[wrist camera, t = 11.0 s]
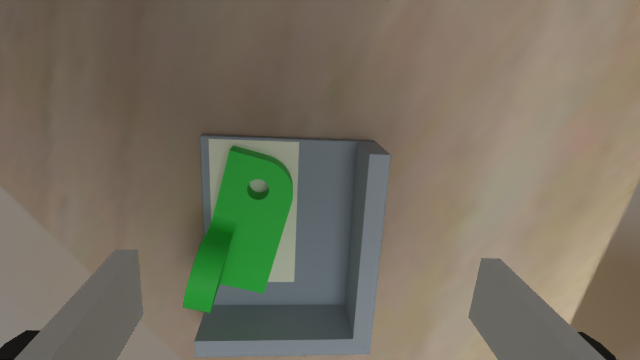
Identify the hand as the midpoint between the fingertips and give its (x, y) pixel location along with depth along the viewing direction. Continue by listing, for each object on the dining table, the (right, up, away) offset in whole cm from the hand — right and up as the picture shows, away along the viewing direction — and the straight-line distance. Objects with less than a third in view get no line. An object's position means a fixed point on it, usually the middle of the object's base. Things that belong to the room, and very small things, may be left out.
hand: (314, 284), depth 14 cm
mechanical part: (-6, +1, +19) cm, 20 cm away
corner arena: (-3, -1, +21) cm, 21 cm away
